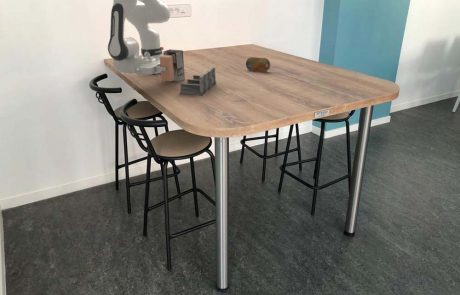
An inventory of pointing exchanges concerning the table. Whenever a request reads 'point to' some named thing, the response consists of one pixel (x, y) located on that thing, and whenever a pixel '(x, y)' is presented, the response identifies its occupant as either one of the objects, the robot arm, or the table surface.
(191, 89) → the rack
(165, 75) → the tall salmon pillar
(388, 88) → the table surface
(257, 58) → the tin
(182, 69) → the coffee box
